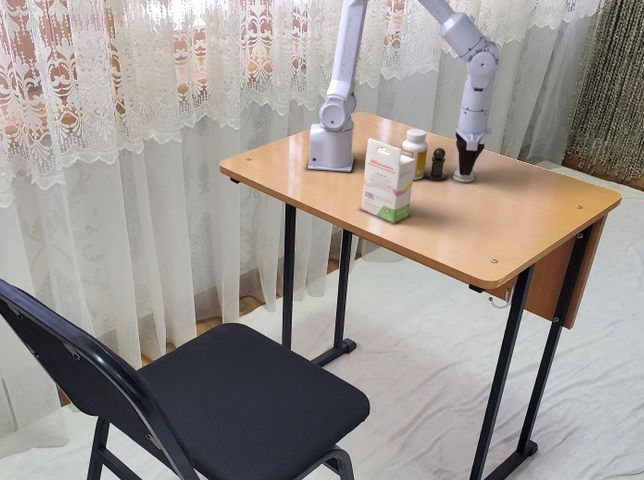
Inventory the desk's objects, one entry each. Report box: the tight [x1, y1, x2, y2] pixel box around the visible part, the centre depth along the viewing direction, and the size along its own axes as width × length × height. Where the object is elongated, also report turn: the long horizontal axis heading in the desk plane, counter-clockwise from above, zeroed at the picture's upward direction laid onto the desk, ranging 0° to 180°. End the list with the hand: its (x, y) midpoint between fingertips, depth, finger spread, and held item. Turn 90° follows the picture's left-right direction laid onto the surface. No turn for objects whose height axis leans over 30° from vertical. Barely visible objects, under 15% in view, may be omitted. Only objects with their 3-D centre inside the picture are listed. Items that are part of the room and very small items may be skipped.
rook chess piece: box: [452, 164, 475, 184], centre depth 155 cm, size 4×4×8 cm
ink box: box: [361, 137, 415, 224], centre depth 141 cm, size 9×5×15 cm, turn 42°
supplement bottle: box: [401, 128, 429, 181], centre depth 156 cm, size 5×5×10 cm
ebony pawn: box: [426, 147, 446, 182], centre depth 157 cm, size 4×4×7 cm
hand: (464, 170), depth 157 cm, fingers closed on rook chess piece, 3 cm apart
